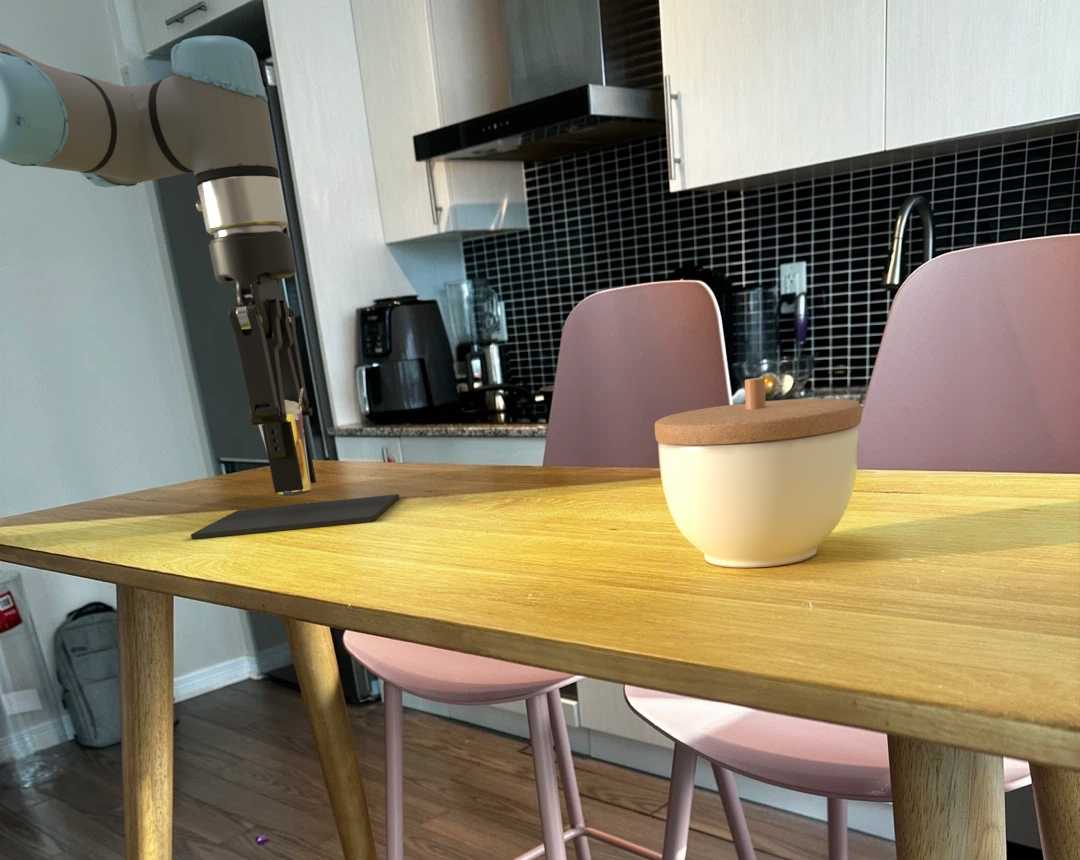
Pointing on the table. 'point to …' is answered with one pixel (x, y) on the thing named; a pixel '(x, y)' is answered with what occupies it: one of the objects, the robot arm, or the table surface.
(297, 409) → the milkshake
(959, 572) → the table surface
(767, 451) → the lidded bowl
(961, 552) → the table surface
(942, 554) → the table surface
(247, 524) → the mat
